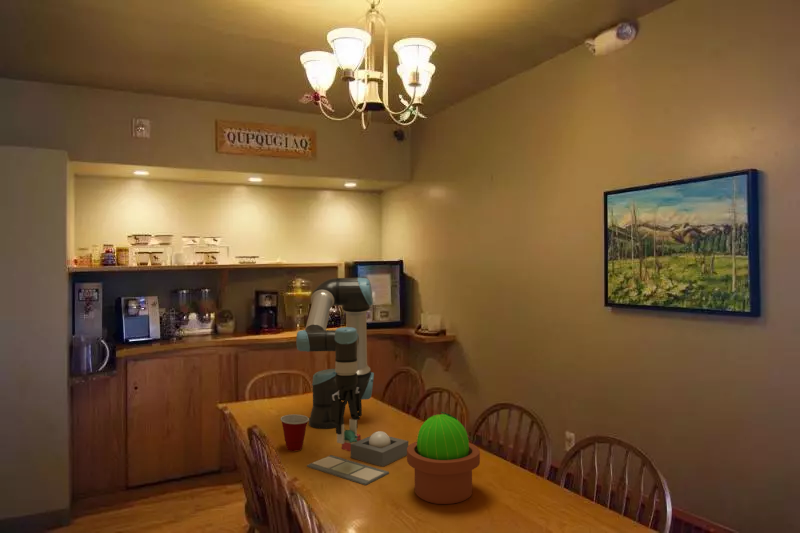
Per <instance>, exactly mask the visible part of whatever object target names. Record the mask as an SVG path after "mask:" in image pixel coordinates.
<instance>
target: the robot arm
mask: <svg viewBox="0 0 800 533" xmlns="http://www.w3.org/2000/svg"><path fill="white" fill-rule="evenodd" d="M310 303H311V306H310V310H309V313H308V317H307V321H306V325H305V327H304V329H302V330H298V331H297V332H296V341H295V342H296V343H295V344H296V349H297V351H299V352H307V353H309V352H310V353H311V352H335V358H334V361H335V368H327V369H323V370H319V371H317V372H315V373H314V374H312V375H313V376H312V383H311V385H312V408H311V412H310V417H308V418H309V421H308V426H310V427H312V428H314V429H333V428H335V434H336V443H337V444H341V445H342V444H344V431H345V424H344V423H345V419H344V415H345V411H346V405H347V406H348V408H349V413H350V414H349V416H350V417H351V418H349V419H348V420H349V422H348V423H349V428H348V430H352V431H353V432H354V434H355V435H356V436H357V434H358V431H357V430H358V421H359V420H360V419H361V416H362V415H363V412H362V411H363V410H362V407H363V406H362V400H363V401H364V400H369V399H371V397H372V394H373V386H374V378H375V373H374V372H372V371H371V370H372V369H371V367H370V366H369V365H368V350H367V349H368V347H367V346H368V343H367V342H368V340H367V337H368V336H367V335H368V334H367V313H368V312H369V311H370V307H371V306H373V304H374V298H373V291H372V285H371V281H370V279H369V278H366V277H332V278H329V279H326V280H324V281H323V282H321V283H319V285H317V287H315V289H314V290H313V292H312V294H311V297H310ZM333 306H342V311H343V312H344V313H345V319H346V321H345V323H346V324H345V325H346V327H345V326H344V327H343V326H342V327H338V328H336V329H329V330H328V329H327V326H328V322H329V318H330V311H331V308H333Z"/></svg>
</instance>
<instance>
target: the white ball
mask: <svg viewBox="0 0 800 533" xmlns="http://www.w3.org/2000/svg"><path fill="white" fill-rule="evenodd" d="M370 436H371V437H370V439H369V445H370V446H374V447H377V448H381V449H382V448H384V447H386V446H388V445H390V444H391V441H390V438H389V435H388V434H387V433H386V432H385V431H382V430H379V431H375V432H373V433H372V434H371V435H370Z"/></svg>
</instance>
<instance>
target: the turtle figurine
mask: <svg viewBox="0 0 800 533" xmlns="http://www.w3.org/2000/svg"><path fill="white" fill-rule="evenodd" d="M357 438H358V436H356V435H355V434H354V432H353V431H352V430H349V429H345V430H344V442H346V443H350V444H352V443H356V442H357V440H356V439H357Z"/></svg>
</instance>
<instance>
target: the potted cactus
mask: <svg viewBox="0 0 800 533" xmlns="http://www.w3.org/2000/svg"><path fill="white" fill-rule="evenodd" d="M440 413H441V414H439V413H437V414H436V415H435V414H434V415H431V416H429V417H428V418H427V420H426V419H425V421H424V422H423V421H422V424H421V426H420V428H419V430H418V432H416V433H417V435H416V436H417V438H416V441H415V442H412V443H410V444H408V447H407V455H406V463H407V464H408V465H409V466H410V467H411V468H412V469H414V492H415V494H416V496H418V498H420V499H421V500H423V501H425V502H428V503H431V504H436V505H451V504H452V505H453V504H457V503H461V502H464V501H466V500H468V499H469V498H471V496H472V495H473V494H472V493H473V470H475V469H476V468H478V467H479V466H480V463H481V462H480V461H481V453H480V451H481V450H480V449H479V447H477V446H476V445H475V444H474V443H472V442H470V440H469V439H470V435H469V434H468V432H467V429H466V428H465V427H464V424H462V423H461V422H460V420H459V418H457V417H455V416H453V415H451V414H450V413H447V412H445V411H444V412H443V411H441V412H440Z"/></svg>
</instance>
